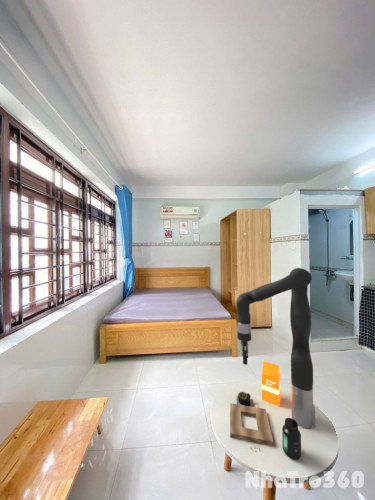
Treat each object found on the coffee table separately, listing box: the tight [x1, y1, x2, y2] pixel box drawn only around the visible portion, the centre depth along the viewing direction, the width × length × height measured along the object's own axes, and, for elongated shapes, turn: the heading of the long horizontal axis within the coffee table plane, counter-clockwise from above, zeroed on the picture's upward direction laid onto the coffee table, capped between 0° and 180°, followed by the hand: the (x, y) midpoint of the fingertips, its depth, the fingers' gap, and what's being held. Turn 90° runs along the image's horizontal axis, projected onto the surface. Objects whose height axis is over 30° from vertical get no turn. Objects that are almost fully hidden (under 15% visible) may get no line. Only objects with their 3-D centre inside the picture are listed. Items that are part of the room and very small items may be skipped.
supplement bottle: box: [281, 417, 302, 461], centre depth 79 cm, size 7×7×12 cm
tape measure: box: [237, 391, 252, 406], centre depth 105 cm, size 7×7×4 cm
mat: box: [235, 395, 255, 407], centre depth 105 cm, size 9×8×1 cm
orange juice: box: [261, 360, 282, 407], centre depth 109 cm, size 8×9×20 cm
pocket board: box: [229, 402, 274, 447], centre depth 92 cm, size 18×18×2 cm
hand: (244, 359), depth 106 cm, fingers open, 8 cm apart
